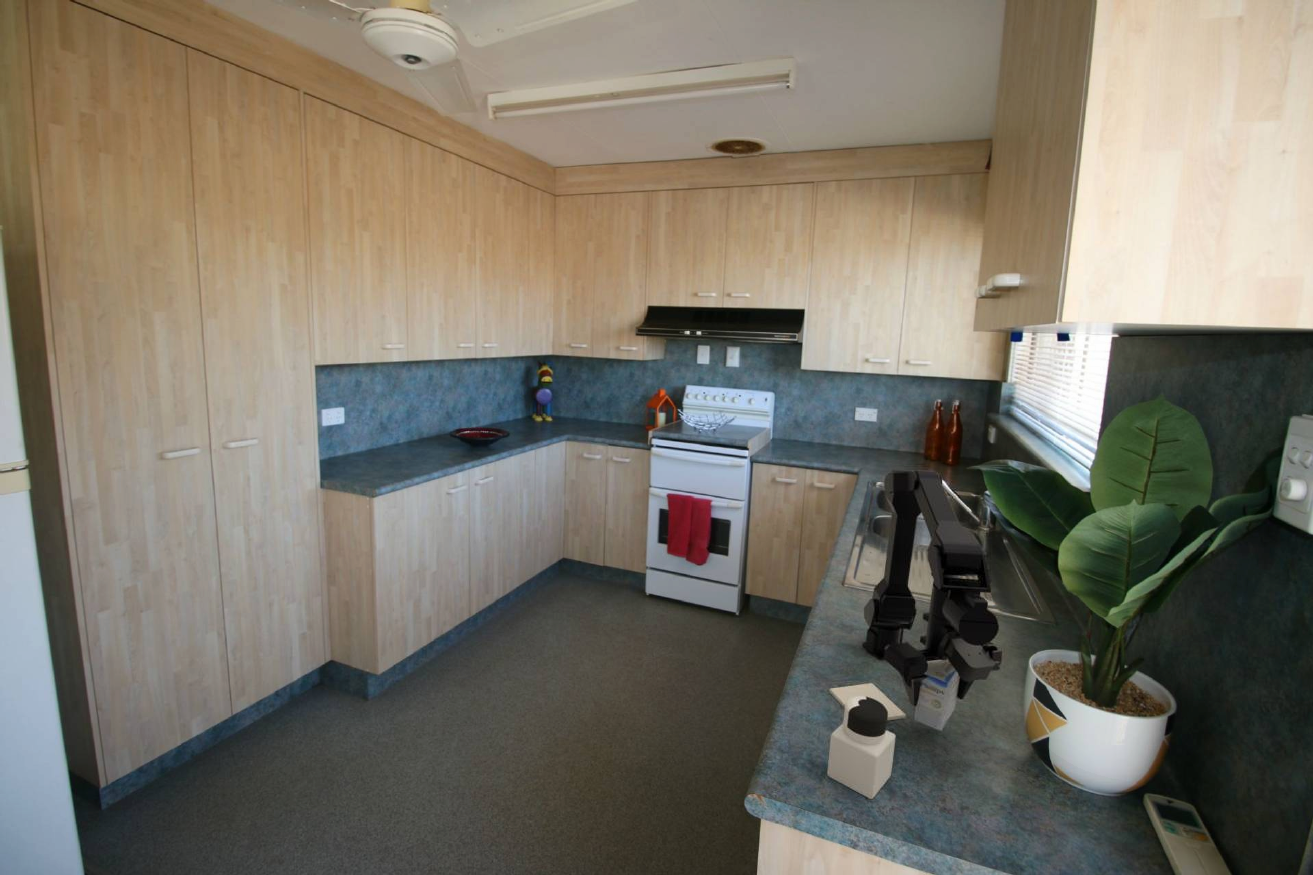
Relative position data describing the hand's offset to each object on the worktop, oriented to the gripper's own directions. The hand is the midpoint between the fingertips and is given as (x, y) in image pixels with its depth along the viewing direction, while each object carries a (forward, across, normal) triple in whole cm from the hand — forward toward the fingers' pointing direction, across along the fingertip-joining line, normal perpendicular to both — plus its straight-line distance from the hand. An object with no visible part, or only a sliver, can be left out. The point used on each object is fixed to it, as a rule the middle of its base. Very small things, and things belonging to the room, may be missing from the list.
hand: (936, 701), depth 105 cm
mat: (+6, -6, +10) cm, 13 cm away
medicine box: (+3, 0, 0) cm, 3 cm away
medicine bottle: (+6, -18, -6) cm, 20 cm away
